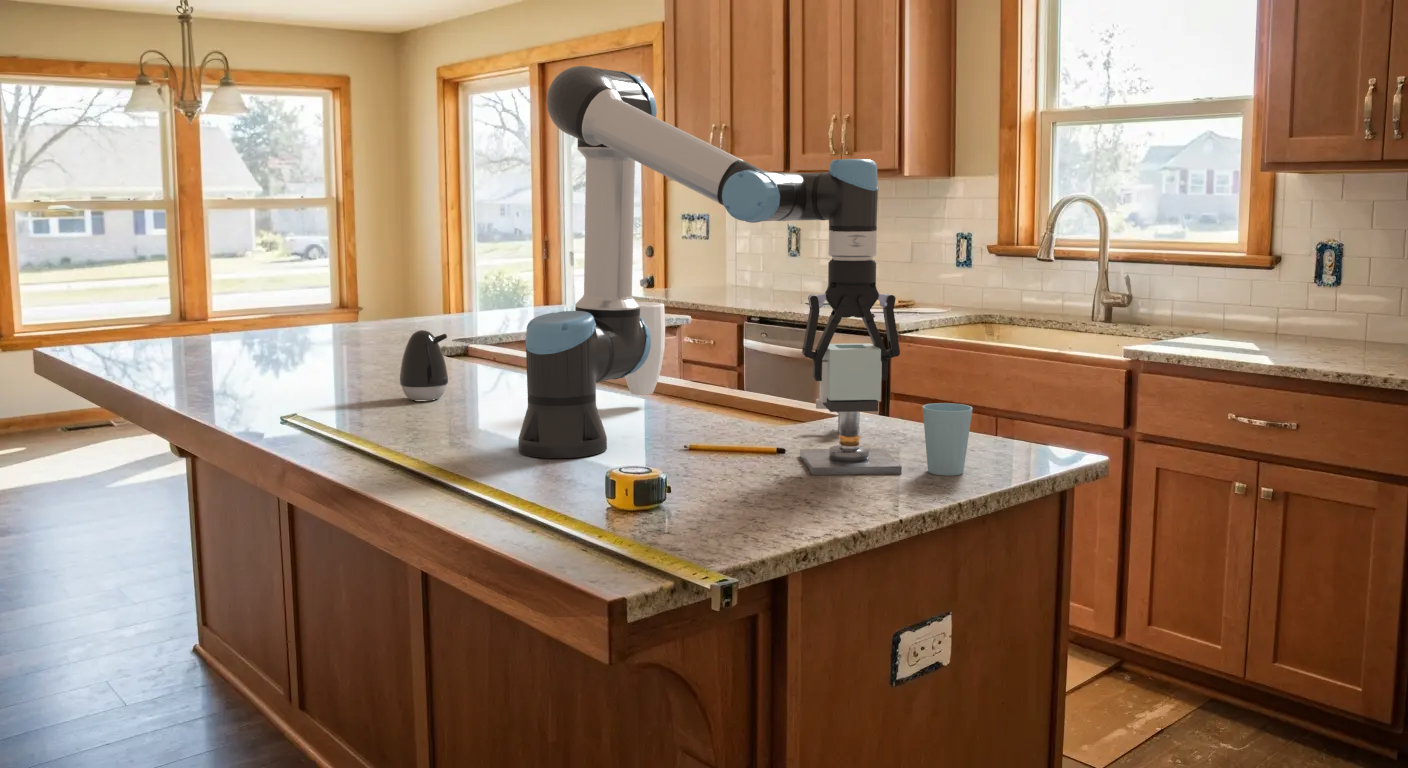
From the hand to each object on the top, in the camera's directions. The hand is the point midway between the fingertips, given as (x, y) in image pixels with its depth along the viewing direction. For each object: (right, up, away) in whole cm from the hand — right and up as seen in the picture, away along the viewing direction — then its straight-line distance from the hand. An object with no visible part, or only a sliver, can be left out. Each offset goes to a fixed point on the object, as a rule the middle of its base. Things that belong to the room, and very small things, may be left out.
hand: (850, 400), depth 190 cm
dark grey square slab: (0, 0, 0) cm, 0 cm away
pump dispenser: (-84, -1, +67) cm, 108 cm away
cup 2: (-36, -2, +57) cm, 68 cm away
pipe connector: (+2, -6, +29) cm, 30 cm away
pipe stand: (0, -10, +2) cm, 11 cm away
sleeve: (0, +1, 0) cm, 1 cm away
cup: (+15, -11, -4) cm, 19 cm away
